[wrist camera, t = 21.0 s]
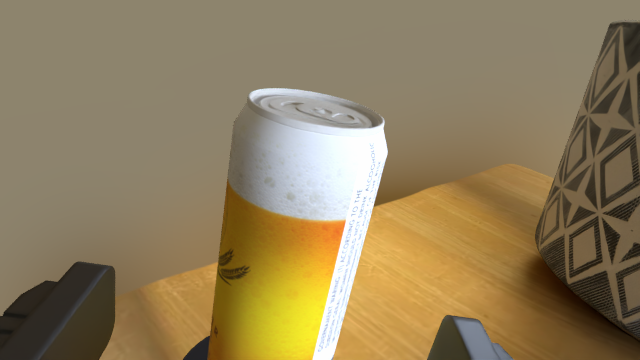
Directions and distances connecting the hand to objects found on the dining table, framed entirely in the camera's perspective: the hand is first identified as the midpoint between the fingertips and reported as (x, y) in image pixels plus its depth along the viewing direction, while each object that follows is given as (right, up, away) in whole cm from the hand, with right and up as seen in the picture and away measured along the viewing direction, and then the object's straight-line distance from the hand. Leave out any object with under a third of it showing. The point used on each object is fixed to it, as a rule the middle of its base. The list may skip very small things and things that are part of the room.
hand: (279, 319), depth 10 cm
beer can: (-2, -8, +12) cm, 14 cm away
